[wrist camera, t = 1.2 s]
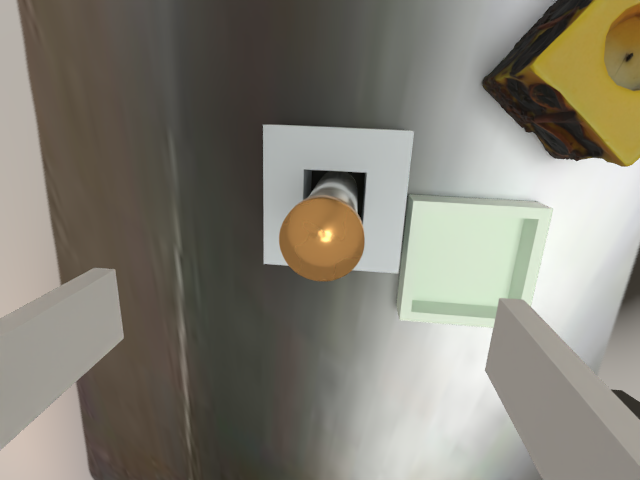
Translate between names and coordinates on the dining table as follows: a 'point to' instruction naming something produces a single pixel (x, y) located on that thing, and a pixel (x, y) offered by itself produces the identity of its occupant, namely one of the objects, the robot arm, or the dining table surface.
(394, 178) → the block
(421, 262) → the tray
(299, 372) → the dining table surface
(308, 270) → the pin
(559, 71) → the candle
